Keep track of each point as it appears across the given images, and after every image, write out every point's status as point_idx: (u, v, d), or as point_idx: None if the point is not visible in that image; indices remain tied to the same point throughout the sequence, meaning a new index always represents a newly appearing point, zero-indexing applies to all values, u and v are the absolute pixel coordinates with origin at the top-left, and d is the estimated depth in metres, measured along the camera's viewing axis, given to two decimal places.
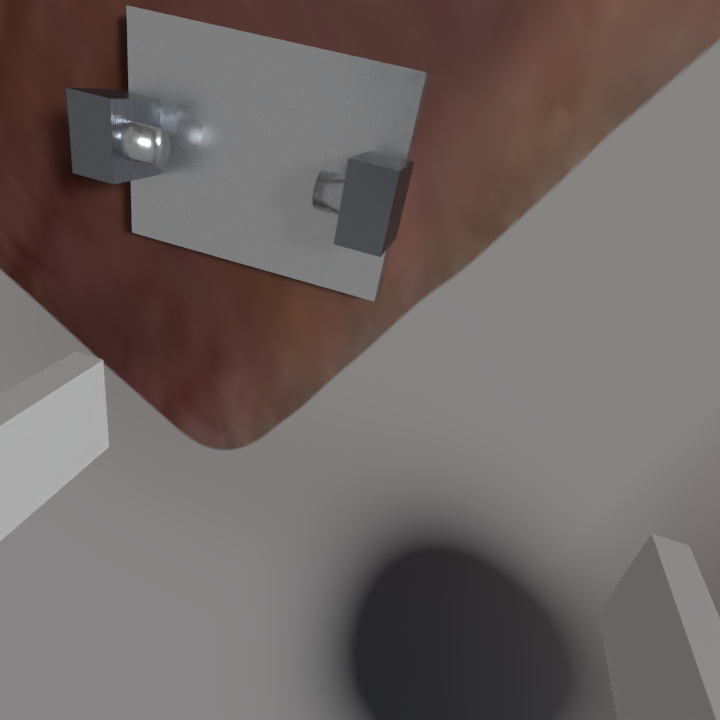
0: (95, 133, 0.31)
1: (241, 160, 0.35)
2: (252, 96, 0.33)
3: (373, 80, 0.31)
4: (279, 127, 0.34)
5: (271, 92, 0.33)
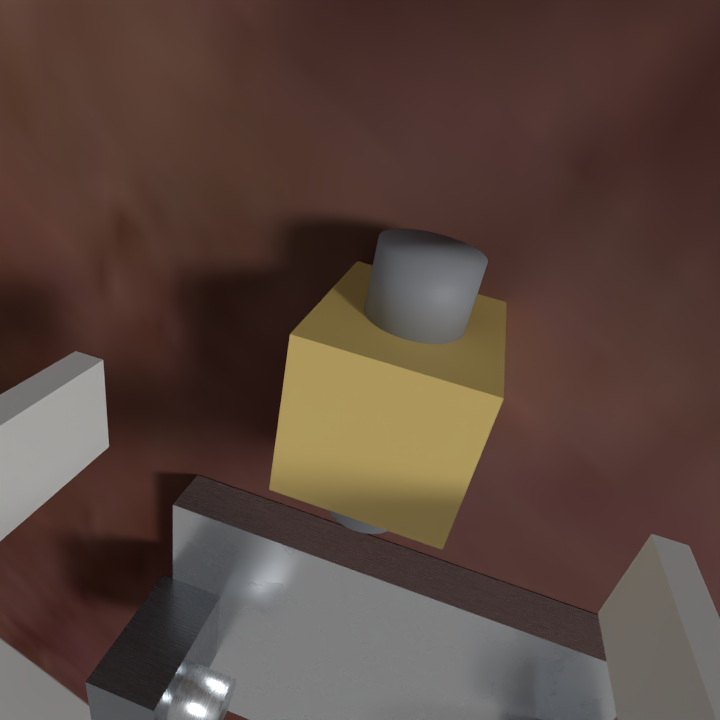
0: None
1: (335, 674, 0.24)
2: (359, 628, 0.22)
3: (557, 662, 0.20)
4: (397, 663, 0.23)
5: (388, 632, 0.22)
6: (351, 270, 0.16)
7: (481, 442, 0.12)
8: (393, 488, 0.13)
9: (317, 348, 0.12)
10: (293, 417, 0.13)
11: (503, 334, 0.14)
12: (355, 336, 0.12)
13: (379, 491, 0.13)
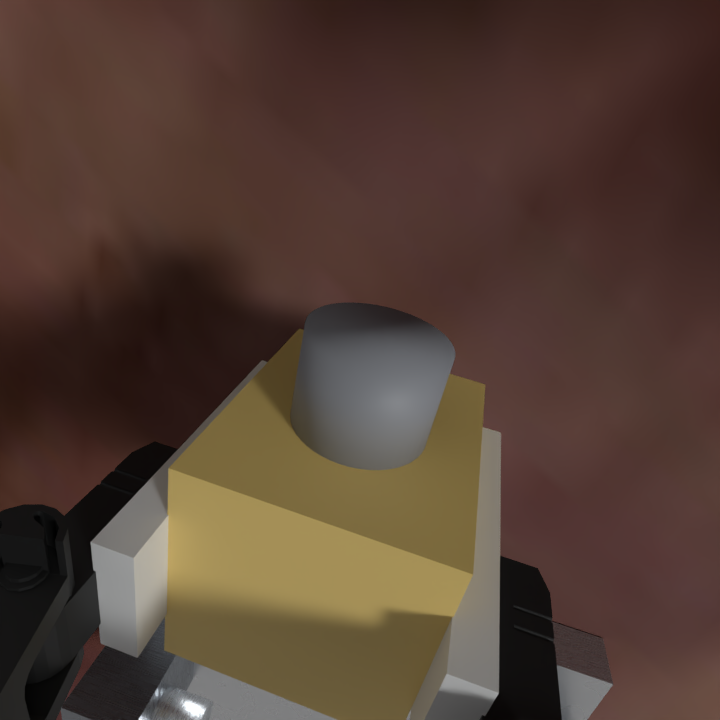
0: None
1: None
2: None
3: None
4: None
5: None
6: (287, 344, 0.12)
7: (443, 625, 0.08)
8: (325, 667, 0.09)
9: (207, 489, 0.08)
10: (185, 570, 0.09)
11: (479, 443, 0.10)
12: (267, 464, 0.09)
13: (307, 668, 0.10)
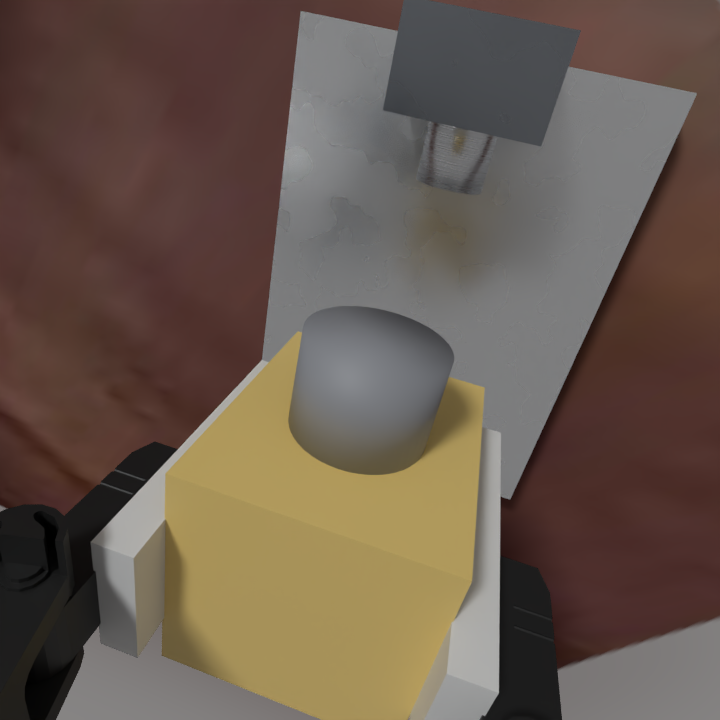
0: None
1: (417, 320, 0.24)
2: (338, 290, 0.25)
3: (314, 103, 0.21)
4: (375, 257, 0.24)
5: (333, 263, 0.24)
6: (286, 347, 0.12)
7: (442, 631, 0.08)
8: (323, 673, 0.09)
9: (204, 494, 0.08)
10: (182, 576, 0.09)
11: (478, 447, 0.10)
12: (265, 469, 0.09)
13: (305, 674, 0.09)
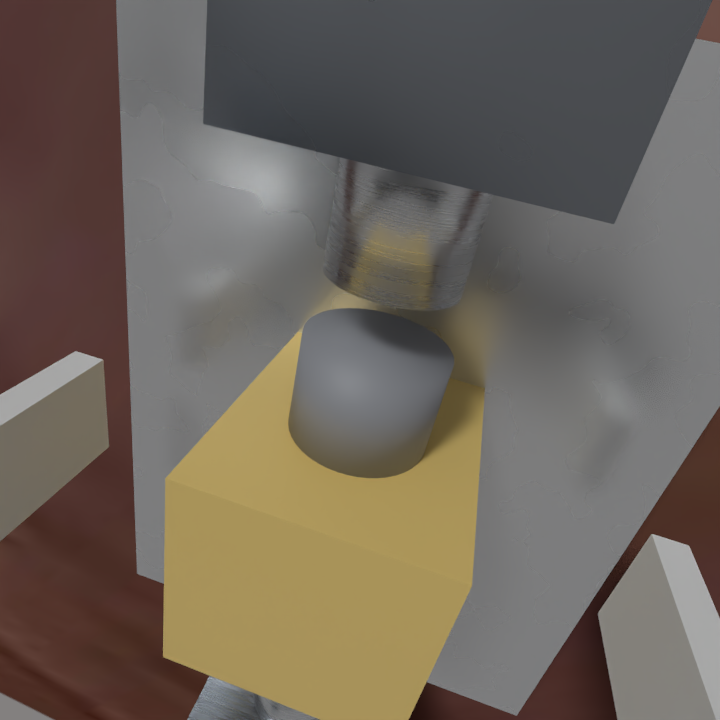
0: None
1: None
2: None
3: (160, 105, 0.12)
4: None
5: (223, 371, 0.14)
6: (285, 349, 0.12)
7: (442, 635, 0.08)
8: (324, 674, 0.09)
9: (204, 499, 0.08)
10: (183, 579, 0.09)
11: (478, 449, 0.10)
12: (265, 473, 0.09)
13: (306, 675, 0.10)
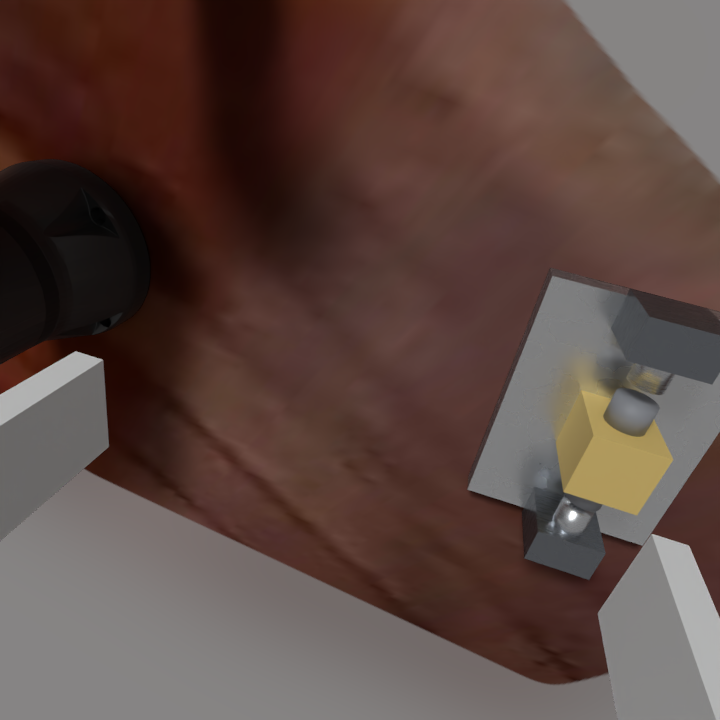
0: (561, 551, 0.38)
1: None
2: (545, 417, 0.40)
3: (550, 320, 0.36)
4: (574, 401, 0.38)
5: (544, 403, 0.39)
6: (584, 397, 0.37)
7: (662, 474, 0.33)
8: (621, 491, 0.34)
9: (603, 440, 0.33)
10: (585, 464, 0.34)
11: (658, 429, 0.35)
12: (613, 434, 0.33)
13: (614, 492, 0.34)
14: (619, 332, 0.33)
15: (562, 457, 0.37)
